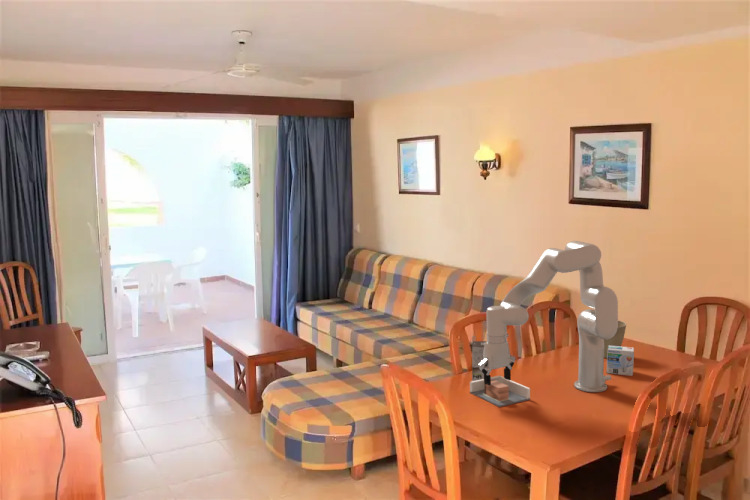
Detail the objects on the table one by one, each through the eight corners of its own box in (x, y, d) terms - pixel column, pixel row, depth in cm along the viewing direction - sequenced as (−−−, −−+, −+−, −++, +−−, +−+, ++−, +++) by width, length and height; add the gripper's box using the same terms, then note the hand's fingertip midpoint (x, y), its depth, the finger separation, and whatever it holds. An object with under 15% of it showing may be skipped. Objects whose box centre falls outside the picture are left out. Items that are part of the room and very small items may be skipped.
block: (508, 398, 246) (508, 386, 245) (499, 400, 244) (499, 388, 243) (493, 391, 254) (493, 379, 253) (484, 393, 252) (484, 381, 251)
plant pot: (588, 351, 308) (589, 318, 306) (620, 352, 306) (621, 319, 304) (594, 360, 294) (595, 326, 292) (628, 361, 292) (629, 327, 290)
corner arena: (499, 386, 262) (499, 375, 262) (529, 399, 247) (530, 388, 246) (469, 392, 255) (469, 381, 255) (499, 407, 240) (499, 395, 239)
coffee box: (487, 385, 264) (487, 346, 262) (471, 384, 265) (471, 346, 263) (488, 378, 273) (488, 340, 271) (472, 377, 274) (472, 340, 272)
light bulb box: (606, 373, 276) (607, 349, 274) (607, 368, 282) (607, 344, 281) (633, 376, 272) (634, 351, 270) (633, 371, 278) (634, 347, 277)
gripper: (508, 332, 253) (508, 374, 256) (472, 340, 245) (473, 383, 248) (520, 337, 247) (521, 380, 249) (484, 344, 239) (485, 389, 241)
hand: (497, 381), depth 248 cm, fingers open, 9 cm apart
